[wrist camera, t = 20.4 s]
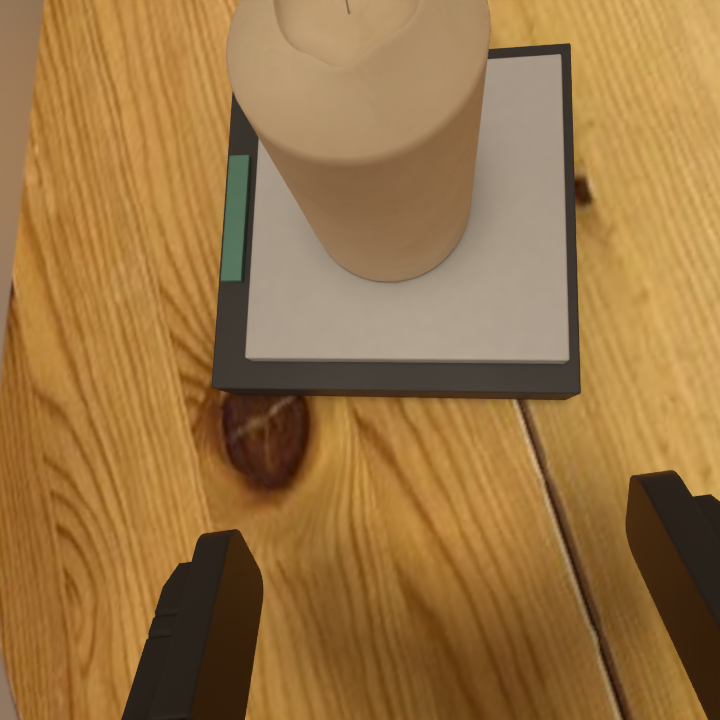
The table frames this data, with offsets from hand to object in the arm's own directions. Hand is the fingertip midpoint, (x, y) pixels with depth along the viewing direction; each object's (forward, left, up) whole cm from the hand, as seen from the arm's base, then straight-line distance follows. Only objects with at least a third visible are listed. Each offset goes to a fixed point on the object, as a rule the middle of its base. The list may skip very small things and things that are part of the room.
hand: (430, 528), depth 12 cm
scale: (-2, +10, -10) cm, 14 cm away
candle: (-2, +10, -7) cm, 12 cm away
